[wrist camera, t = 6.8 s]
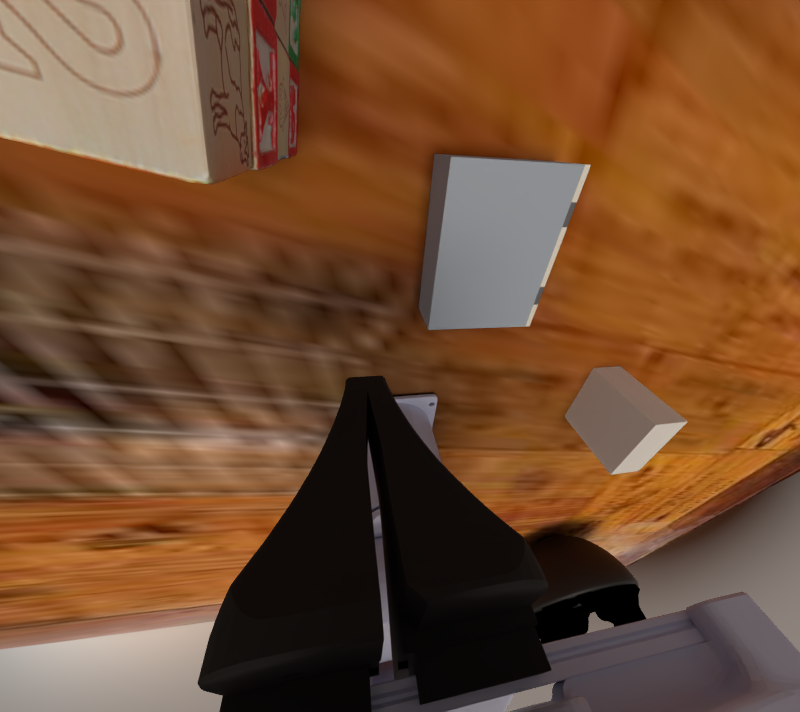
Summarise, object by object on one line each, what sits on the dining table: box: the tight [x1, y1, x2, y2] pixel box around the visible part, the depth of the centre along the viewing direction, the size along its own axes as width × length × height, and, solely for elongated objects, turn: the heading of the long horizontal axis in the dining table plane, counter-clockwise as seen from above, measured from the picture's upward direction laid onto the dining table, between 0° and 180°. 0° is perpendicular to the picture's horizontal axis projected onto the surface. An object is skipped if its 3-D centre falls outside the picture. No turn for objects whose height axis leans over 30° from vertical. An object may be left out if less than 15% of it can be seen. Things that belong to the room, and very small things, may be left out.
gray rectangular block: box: [419, 154, 591, 330], centre depth 17 cm, size 9×3×7 cm
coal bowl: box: [531, 535, 646, 644], centre depth 49 cm, size 20×20×19 cm
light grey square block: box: [564, 366, 688, 475], centre depth 27 cm, size 7×3×7 cm, turn 177°
